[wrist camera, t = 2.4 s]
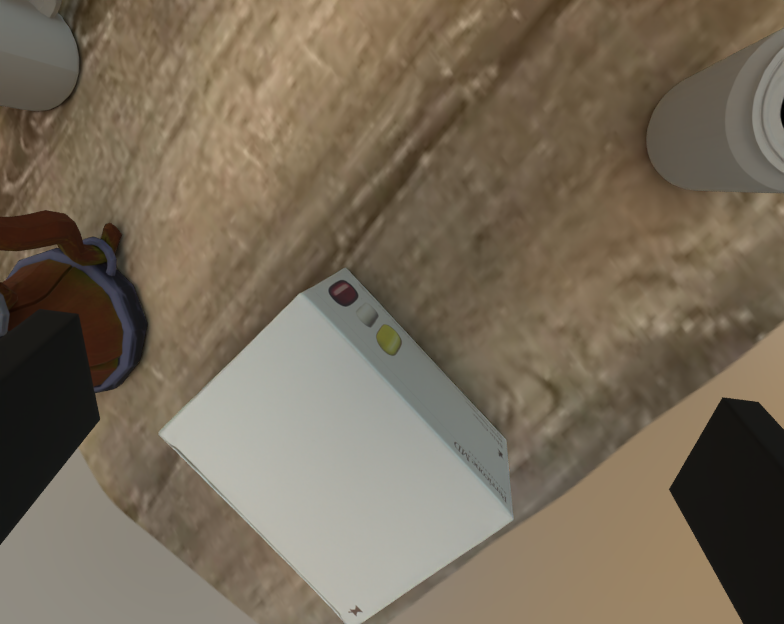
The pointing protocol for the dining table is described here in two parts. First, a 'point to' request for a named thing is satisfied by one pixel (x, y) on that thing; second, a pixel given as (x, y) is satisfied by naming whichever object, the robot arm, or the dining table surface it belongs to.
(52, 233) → the mug
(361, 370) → the supplement box
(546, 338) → the dining table surface
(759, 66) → the beverage can
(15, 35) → the cup
